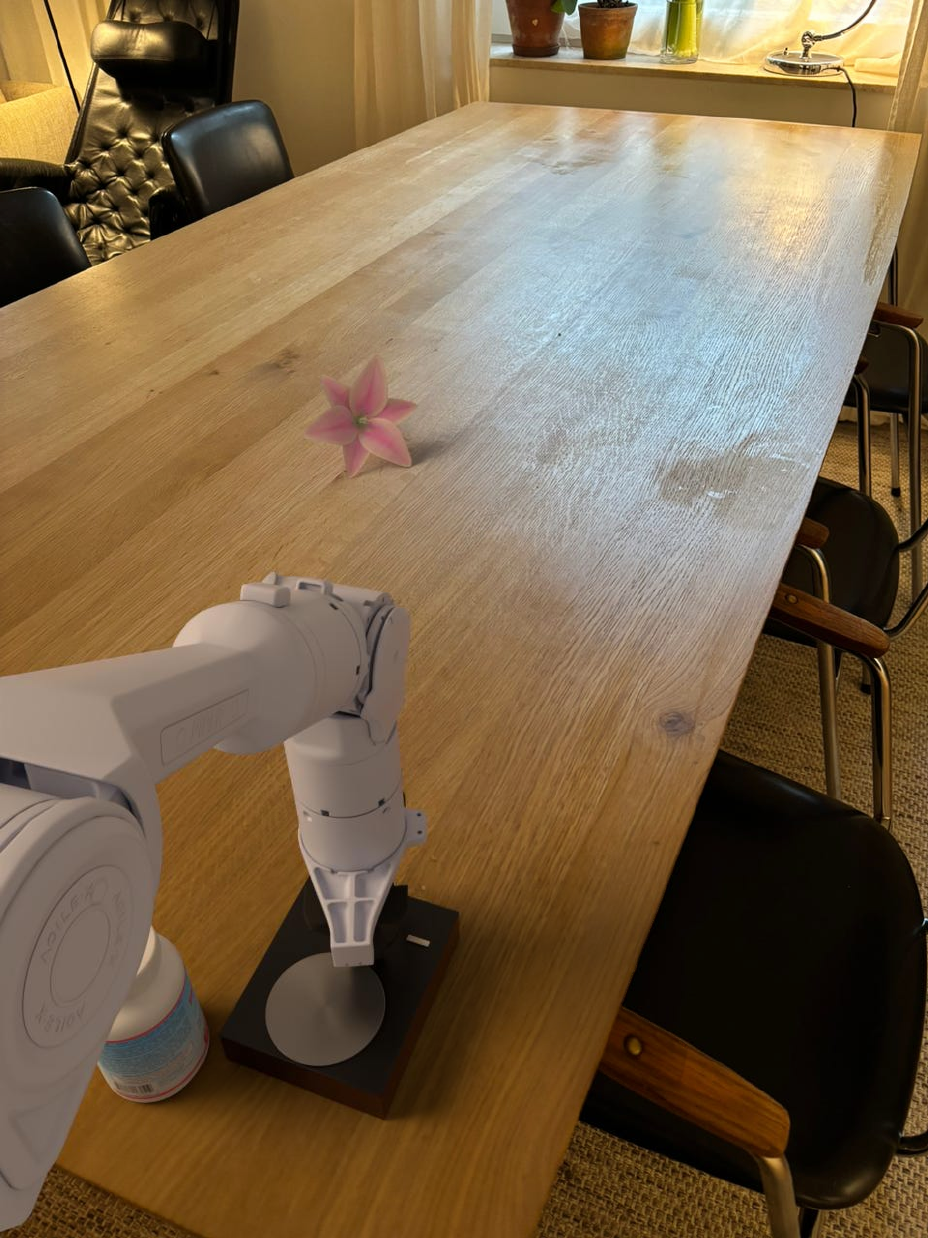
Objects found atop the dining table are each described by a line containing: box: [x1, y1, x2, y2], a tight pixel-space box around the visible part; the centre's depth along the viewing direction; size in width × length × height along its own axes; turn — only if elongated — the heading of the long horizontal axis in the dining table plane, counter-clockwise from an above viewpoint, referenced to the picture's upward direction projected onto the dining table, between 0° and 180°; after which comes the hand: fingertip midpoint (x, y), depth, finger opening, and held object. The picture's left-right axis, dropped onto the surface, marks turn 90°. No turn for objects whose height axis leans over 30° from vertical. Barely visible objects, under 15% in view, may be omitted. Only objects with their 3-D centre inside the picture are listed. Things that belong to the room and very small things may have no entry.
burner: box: [265, 953, 385, 1067], centre depth 57 cm, size 7×7×1 cm
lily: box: [300, 354, 419, 479], centre depth 106 cm, size 12×12×10 cm
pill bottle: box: [96, 923, 210, 1104], centre depth 54 cm, size 6×6×11 cm
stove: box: [217, 874, 461, 1121], centre depth 60 cm, size 13×10×3 cm
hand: (366, 921), depth 60 cm, fingers closed on stove knob, 4 cm apart
